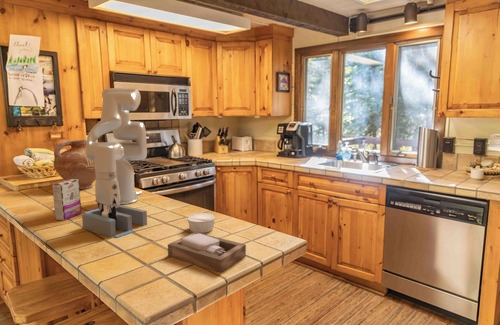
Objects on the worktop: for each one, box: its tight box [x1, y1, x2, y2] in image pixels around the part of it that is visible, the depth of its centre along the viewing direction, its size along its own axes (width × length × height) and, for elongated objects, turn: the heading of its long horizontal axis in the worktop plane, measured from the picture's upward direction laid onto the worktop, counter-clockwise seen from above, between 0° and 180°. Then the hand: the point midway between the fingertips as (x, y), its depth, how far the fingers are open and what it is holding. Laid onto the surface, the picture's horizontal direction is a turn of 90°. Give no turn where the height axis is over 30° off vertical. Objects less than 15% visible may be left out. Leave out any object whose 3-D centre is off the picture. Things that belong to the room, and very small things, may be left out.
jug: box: [53, 139, 96, 190], centre depth 206 cm, size 28×28×30 cm
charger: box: [181, 233, 226, 256], centre depth 112 cm, size 5×9×15 cm
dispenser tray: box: [167, 232, 247, 273], centre depth 112 cm, size 14×22×4 cm, turn 59°
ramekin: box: [187, 212, 216, 234], centre depth 137 cm, size 11×11×5 cm
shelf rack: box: [81, 204, 148, 239], centre depth 139 cm, size 18×20×7 cm
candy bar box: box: [51, 179, 83, 221], centre depth 151 cm, size 11×5×16 cm, turn 168°
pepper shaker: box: [102, 204, 112, 217], centre depth 135 cm, size 4×4×10 cm
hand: (108, 219), depth 135 cm, fingers closed on pepper shaker, 4 cm apart
